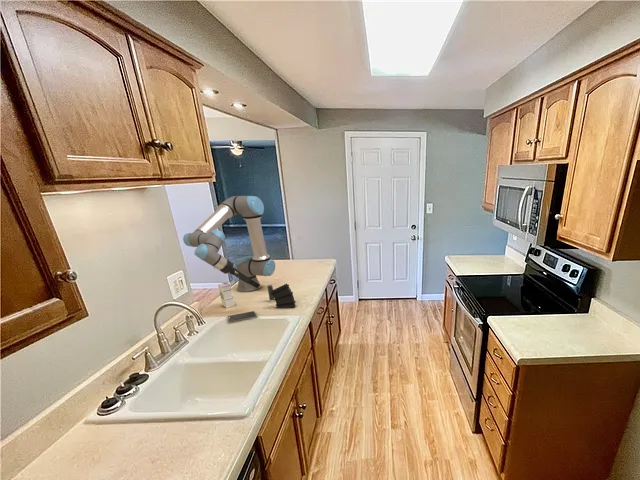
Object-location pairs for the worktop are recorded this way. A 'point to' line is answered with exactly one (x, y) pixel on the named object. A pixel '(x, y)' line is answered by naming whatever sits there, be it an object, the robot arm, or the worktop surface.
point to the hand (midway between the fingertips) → (253, 284)
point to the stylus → (270, 293)
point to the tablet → (242, 316)
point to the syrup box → (226, 294)
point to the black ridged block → (283, 297)
